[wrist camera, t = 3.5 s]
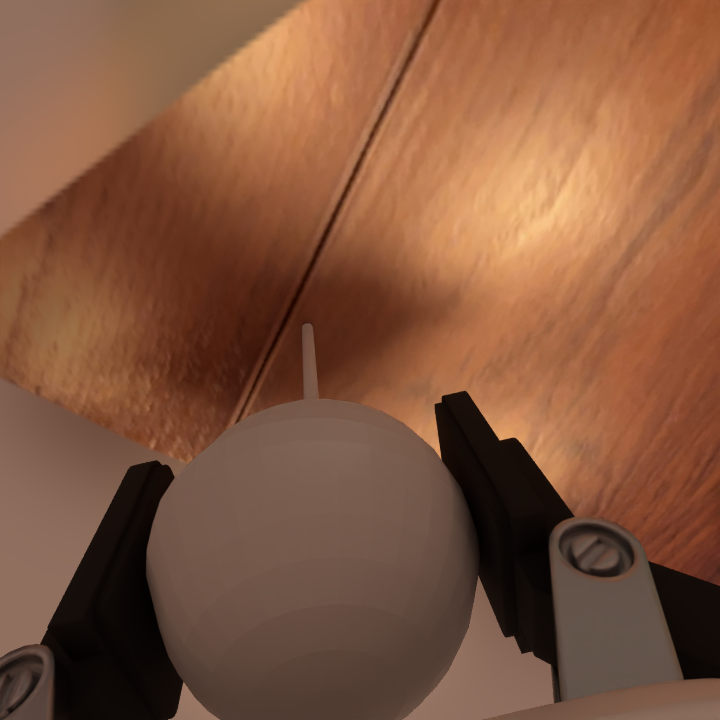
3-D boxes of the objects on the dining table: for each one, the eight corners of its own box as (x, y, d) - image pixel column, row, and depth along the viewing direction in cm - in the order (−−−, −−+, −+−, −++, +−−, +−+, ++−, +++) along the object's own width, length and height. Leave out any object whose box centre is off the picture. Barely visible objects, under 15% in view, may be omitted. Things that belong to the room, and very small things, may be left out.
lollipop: (203, 337, 20) (-4, 772, 6) (291, 224, 18) (274, 468, 5) (321, 414, 22) (359, 862, 8) (407, 319, 20) (624, 672, 7)
